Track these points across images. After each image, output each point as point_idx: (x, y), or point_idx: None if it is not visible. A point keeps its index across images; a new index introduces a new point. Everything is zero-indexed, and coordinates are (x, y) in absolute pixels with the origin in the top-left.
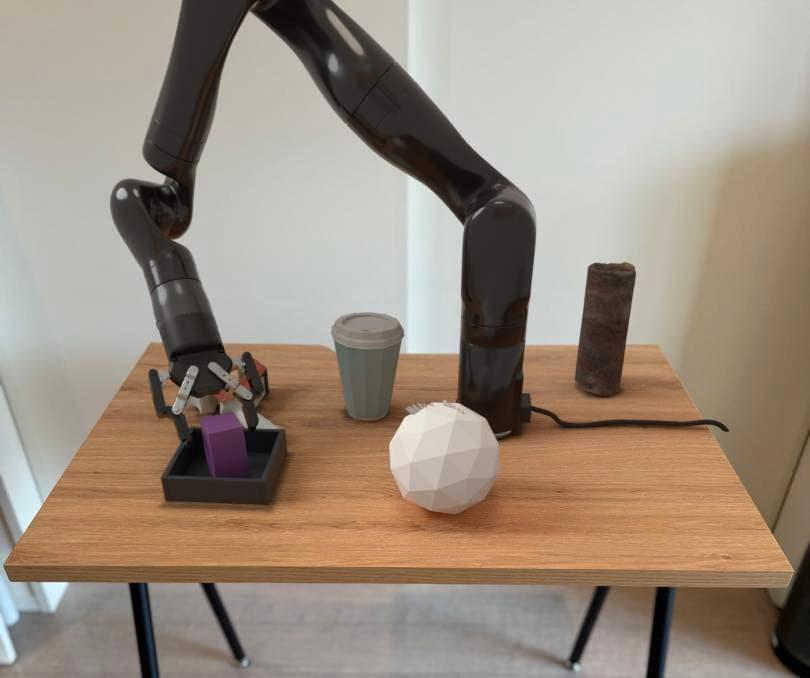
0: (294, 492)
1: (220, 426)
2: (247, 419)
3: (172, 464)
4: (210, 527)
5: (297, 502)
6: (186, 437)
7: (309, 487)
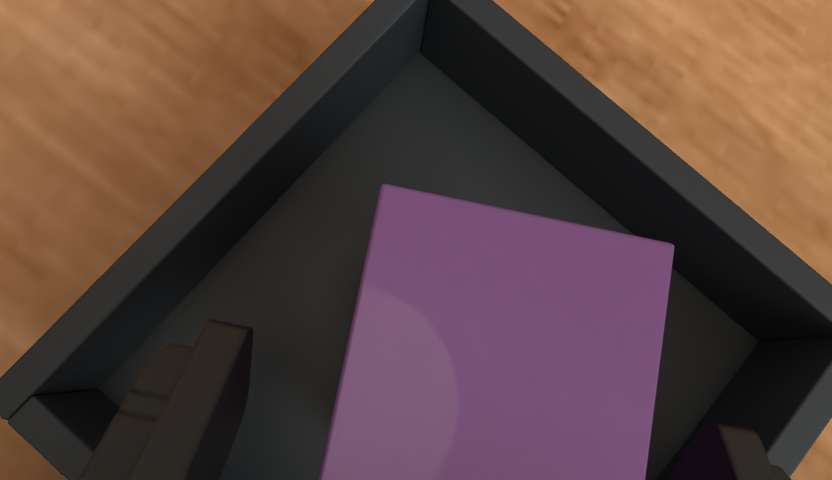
0: (246, 79)
1: (540, 298)
2: (224, 421)
3: (787, 435)
4: (672, 78)
5: (281, 6)
6: (761, 444)
7: (165, 70)
